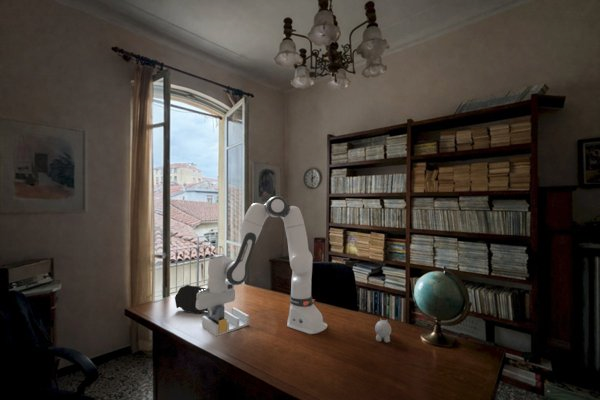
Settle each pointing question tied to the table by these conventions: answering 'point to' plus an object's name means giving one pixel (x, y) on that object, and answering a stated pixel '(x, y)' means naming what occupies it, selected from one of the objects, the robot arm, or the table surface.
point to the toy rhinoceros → (383, 330)
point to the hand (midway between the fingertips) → (215, 313)
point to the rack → (226, 322)
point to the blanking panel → (216, 313)
